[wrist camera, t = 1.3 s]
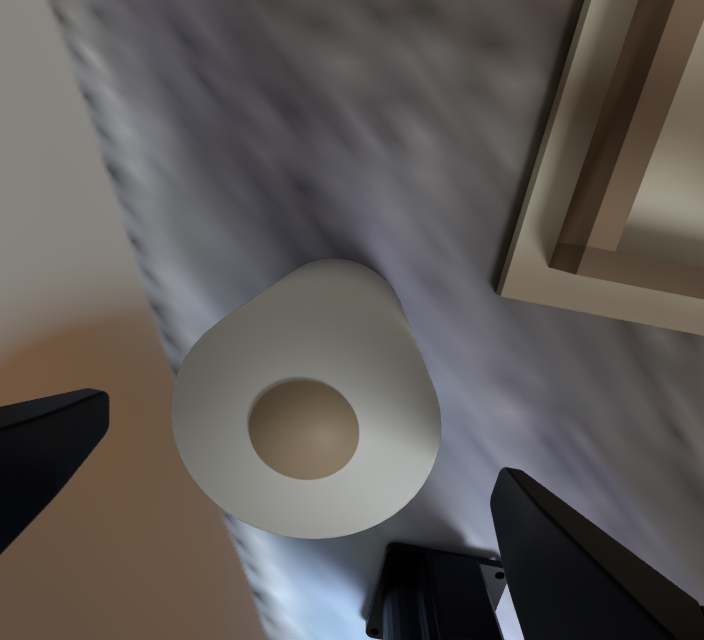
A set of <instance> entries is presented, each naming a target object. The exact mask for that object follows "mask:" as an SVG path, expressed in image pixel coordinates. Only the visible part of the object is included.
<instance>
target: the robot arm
mask: <svg viewBox="0 0 704 640" xmlns="http://www.w3.org/2000/svg"><path fill="white" fill-rule="evenodd" d="M108 427H109V395H108V394H107V393H106V392H105V391H101V390H96V389H90V388H86V389H82V390H76V391H72V392H67V393H63V394H58V395H53V396H49V397H44V398H40V399H35V400H30V401H25V402H21V403H16V404H12V405H7V406H2V407H0V555H1V554H2V553H3V552H4V551H5V550H6V549H7V547H8V546H9V545H10V544H11V543H12V542H13V541H14V540H15V539H16V538H17V537H18V536H19V535H20V534H21V533H22V532H23V531H24V530H25V528H26V527H27V526H28V525H29V524H30V523H31V522H32V521H33V520H34V519H35V518H36V517H37V516H38V515H39V514H40V513H41V512H42V510H44V508H45V507H46V506H47V505H48V504H49V503H50V502H51V501H52V500H53V498H54V497H56V495H57V494H58V493H59V492H60V491H61V489H62V488H63V487H64V486H65V485H66V484H67V482H68V481H69V480H70V478H71V477H72V476H73V475H74V473H75V472H76V471H77V470H78V468H79V467H80V466H81V465H82V463H83V462H84V461H85V460H86V458H87V457H88V456H89V455H90V453H91V452H92V451H93V449H94V448H95V447H96V446H97V445H98V443H99V442H100V441H101V439H102V438H103V437H104V435H105V434H106V432H107V430H108ZM490 507H491V512H492V517H493V522H494V527H495V532H496V536H497V541H498V546H499V551H500V555H501V560H502V562H500V561H496V560H490V559H485V558H479V557H474V556H469V555H463V554H458V553H452V552H447V551H442V550H436V549H431V548H425V547H420V546H415V545H409V544H404V543H398V542H393V543H390V544H388V545H387V547H386V550H385V553H384V557H383V561H382V564H381V568H380V572H379V576H378V579H377V583H376V587H375V590H374V594H373V598H372V601H371V605H370V609H369V612H368V616H367V620H366V634H367V635H368V636H369V637H371V638H375V639H381V640H504V637H503V634H502V631H501V628H500V625H499V622H498V619H497V616H496V612H495V611H496V608H497V606H498V604H499V601H500V599H501V596H502V594H503V591H504V589H505V586H506V584H507V585H508V588H509V592H510V595H511V598H512V601H513V604H514V608H515V611H516V614H517V617H518V620H519V624H520V627H521V630H522V633H523V636H524V640H704V606H700V605H699V603H698V602H697V601H696V600H695V599H694V598H692V597H691V596H690V595H688V594H687V593H686V592H684V591H683V590H682V589H680V588H679V587H678V586H676V585H675V584H674V583H672V582H671V581H670V580H668V579H667V578H666V577H664V576H663V575H662V574H660V573H659V572H658V571H656V570H655V569H654V568H652V567H651V566H649V565H648V564H647V563H645V562H644V561H643V560H641V559H640V558H639V557H637V556H636V555H635V554H633V553H632V552H631V551H629V550H628V549H627V548H625V547H624V546H623V545H621V544H620V543H619V542H617V541H616V540H615V539H613V538H612V537H611V536H609V535H608V534H607V533H605V532H604V531H603V530H601V529H600V528H599V527H597V526H596V525H595V524H593V523H592V522H591V521H589V520H588V519H587V518H585V517H584V516H583V515H581V514H580V513H578V512H577V511H576V510H574V509H573V508H572V507H570V506H569V505H568V504H566V503H565V502H564V501H562V500H561V499H560V498H558V497H557V496H556V495H554V494H553V493H552V492H550V491H549V490H548V489H546V488H545V487H544V486H542V485H541V484H540V483H538V482H537V481H536V480H534V479H533V478H532V477H530V476H529V475H528V474H526V473H525V472H524V471H522V470H519V469H513V468H508V467H504V468H502V469H501V470H500V472H499V475H498V478H497V480H496V483H495V486H494V489H493V492H492V495H491V499H490Z"/></svg>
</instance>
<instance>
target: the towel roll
mask: <svg viewBox="0 0 704 640" xmlns="http://www.w3.org/2000/svg"><path fill="white" fill-rule="evenodd" d="M171 423H172V429H173V436H174V439H175V442H176V446H177V449H178V452H179V454H180V456H181V458H182V461H183V463H184V465H185V467H186V468H187V469H188V471H189V473H190V475H191V476H192V478H193V479H194V481H195V482H196V483H197V484H198V485H199V487H200V488H201V489H202V490H203V491H204V493H206V494H207V495H208V496H209V497H210V498H211V499H212V500H213V501H214V502H215V503H216V504H217V505H219V506H220V507H221V508H223V509H224V510H225V511H226V512H228V513H229V514H231V515H233V516H234V517H236V518H238V519H239V520H241V521H243V522H245V523H247V524H249V525H251V526H254V527H256V528H259V529H261V530H264V531H267V532H270V533H274V534H278V535H282V536H287V537H294V538H302V539H324V538H335V537H340V536H346V535H350V534H354V533H357V532H360V531H363V530H366V529H368V528H370V527H373V526H375V525H377V524H379V523H381V522H383V521H384V520H386V519H388V518H389V517H391V516H393V515H394V514H395V513H397V512H398V511H399V510H400V509H402V508H403V507H404V506H405V505H406V504H407V503H408V502H409V501H410V500H411V499H412V498H413V497H414V496H415V495H416V494H417V492H418V491H419V490H420V488H421V487H422V486H423V484H424V483H425V481H426V479H427V477H428V476H429V474H430V472H431V470H432V468H433V465H434V462H435V460H436V457H437V453H438V449H439V444H440V437H441V416H440V407H439V403H438V399H437V395H436V391H435V389H434V386H433V384H432V381H431V378H430V376H429V373H428V371H427V368H426V366H425V363H424V361H423V358H422V356H421V353H420V351H419V348H418V346H417V343H416V340H415V338H414V335H413V333H412V330H411V328H410V325H409V323H408V320H407V318H406V315H405V313H404V310H403V308H402V305H401V303H400V300H399V298H398V296H397V295H396V293H395V291H394V290H393V289H392V287H391V286H390V285H389V283H388V282H387V281H386V280H385V279H384V278H383V277H382V276H380V275H379V274H378V273H376V272H375V271H373V270H372V269H370V268H368V267H366V266H364V265H362V264H359V263H357V262H353V261H350V260H344V259H322V260H316V261H313V262H309V263H307V264H304V265H302V266H300V267H298V268H297V269H295V270H293V271H292V272H290V273H289V274H287V275H286V276H284V277H283V278H281V279H280V280H279V281H277V282H276V283H274V284H273V285H271V286H270V287H269V288H267V289H266V290H264V291H263V292H261V293H260V294H258V295H257V296H256V297H254V298H253V299H251V300H250V301H248V302H247V303H245V304H244V305H243V306H241V307H240V308H238V309H237V310H235V311H234V312H232V313H231V314H230V315H228V316H227V317H225V318H224V319H222V320H221V321H219V322H218V323H217V324H216V325H214V326H213V327H212V328H211V329H209V330H208V331H207V332H206V333H205V334H204V335H203V336H202V337H201V338H200V339H199V340H198V341H197V342H196V344H195V345H194V346H193V347H192V349H191V350H190V352H189V353H188V355H187V356H186V358H185V359H184V361H183V363H182V365H181V368H180V370H179V372H178V374H177V377H176V381H175V384H174V388H173V393H172V400H171Z"/></svg>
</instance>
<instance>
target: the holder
mask: <svg viewBox="0 0 704 640" xmlns="http://www.w3.org/2000/svg"><path fill="white" fill-rule="evenodd" d="M496 294H497V295H499V296H501V297H507V298H512V299H517V300H522V301H527V302H532V303H538V304H543V305H548V306H553V307H558V308H564V309H569V310H574V311H579V312H584V313H590V314H595V315H600V316H605V317H610V318H615V319H621V320H626V321H631V322H636V323H641V324H647V325H652V326H657V327H662V328H667V329H673V330H678V331H683V332H688V333H693V334H698V335H704V0H584V3H583V6H582V10H581V13H580V16H579V19H578V23H577V26H576V29H575V33H574V36H573V39H572V43H571V46H570V49H569V53H568V56H567V59H566V62H565V66H564V69H563V72H562V76H561V79H560V82H559V86H558V89H557V92H556V96H555V99H554V102H553V105H552V109H551V112H550V115H549V119H548V122H547V125H546V129H545V132H544V135H543V139H542V142H541V145H540V148H539V152H538V155H537V158H536V162H535V165H534V168H533V172H532V175H531V178H530V182H529V185H528V188H527V191H526V195H525V198H524V201H523V205H522V208H521V211H520V215H519V218H518V221H517V225H516V228H515V231H514V234H513V238H512V241H511V244H510V248H509V251H508V254H507V258H506V261H505V264H504V268H503V271H502V274H501V277H500V281H499V284H498V287H497V291H496Z"/></svg>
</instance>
